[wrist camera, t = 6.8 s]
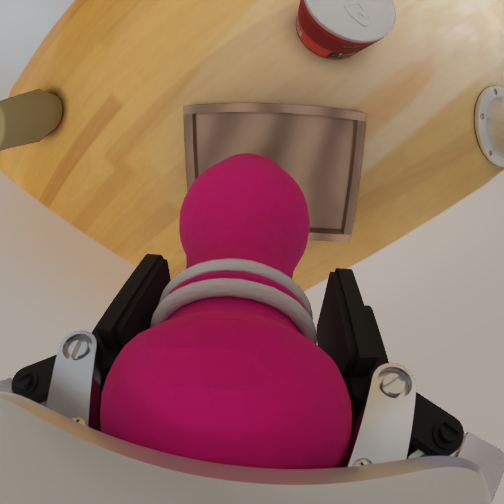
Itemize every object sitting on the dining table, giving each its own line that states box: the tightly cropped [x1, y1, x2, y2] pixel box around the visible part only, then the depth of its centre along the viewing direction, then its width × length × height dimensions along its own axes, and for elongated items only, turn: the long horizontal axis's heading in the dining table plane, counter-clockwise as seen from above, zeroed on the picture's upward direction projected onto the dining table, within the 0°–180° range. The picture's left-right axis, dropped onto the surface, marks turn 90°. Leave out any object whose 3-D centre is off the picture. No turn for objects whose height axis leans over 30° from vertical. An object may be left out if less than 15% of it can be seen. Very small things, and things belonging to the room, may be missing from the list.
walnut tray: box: [183, 103, 367, 242], centre depth 31 cm, size 20×16×2 cm
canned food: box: [296, 0, 396, 59], centre depth 18 cm, size 8×8×11 cm
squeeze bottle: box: [0, 89, 63, 151], centre depth 21 cm, size 8×8×18 cm
